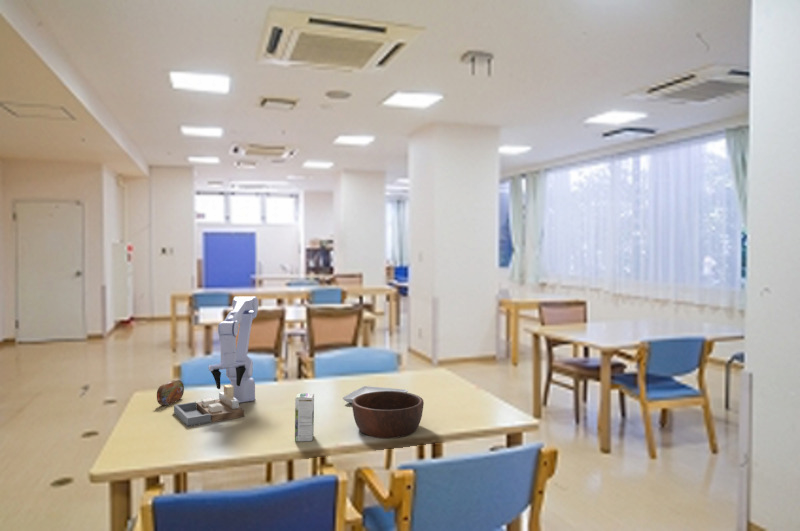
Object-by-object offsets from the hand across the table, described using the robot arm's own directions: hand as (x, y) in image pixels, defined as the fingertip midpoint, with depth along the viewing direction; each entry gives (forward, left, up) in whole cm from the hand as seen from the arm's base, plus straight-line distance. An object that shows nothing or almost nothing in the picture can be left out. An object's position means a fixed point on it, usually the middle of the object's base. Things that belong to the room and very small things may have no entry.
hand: (228, 387), depth 207 cm
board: (+3, 0, -9) cm, 10 cm away
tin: (+15, -26, -10) cm, 32 cm away
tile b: (+6, +4, -7) cm, 10 cm away
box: (+14, 0, -9) cm, 17 cm away
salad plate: (-55, +21, -10) cm, 59 cm away
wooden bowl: (-39, +53, -10) cm, 66 cm away
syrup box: (-11, +45, -10) cm, 47 cm away
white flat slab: (0, 0, -7) cm, 7 cm away
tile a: (+6, -5, -7) cm, 11 cm away
